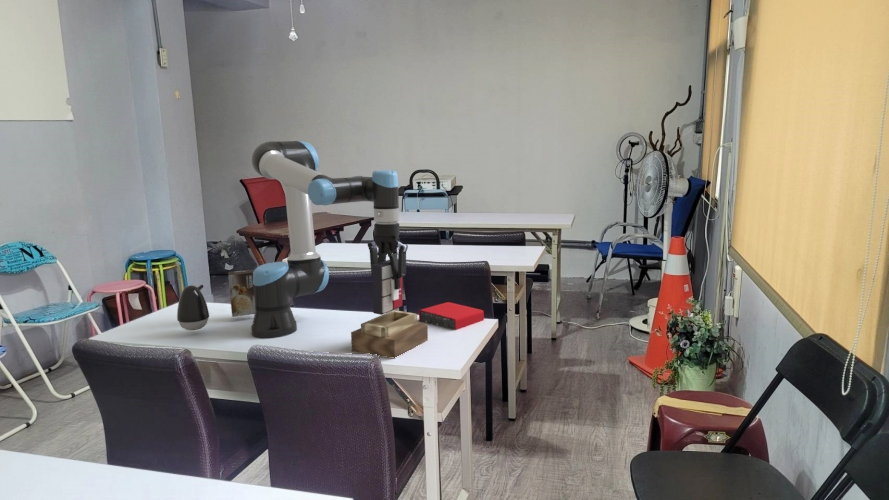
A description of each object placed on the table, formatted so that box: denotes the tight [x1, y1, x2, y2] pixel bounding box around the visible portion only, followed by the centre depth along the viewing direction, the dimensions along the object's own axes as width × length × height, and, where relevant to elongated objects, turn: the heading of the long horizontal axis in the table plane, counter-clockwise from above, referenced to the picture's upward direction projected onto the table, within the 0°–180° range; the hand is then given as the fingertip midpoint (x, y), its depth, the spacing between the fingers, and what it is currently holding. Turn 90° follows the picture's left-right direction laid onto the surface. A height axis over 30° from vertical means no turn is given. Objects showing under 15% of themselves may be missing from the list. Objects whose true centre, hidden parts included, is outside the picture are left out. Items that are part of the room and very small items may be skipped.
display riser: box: [350, 309, 429, 359], centre depth 183 cm, size 16×18×9 cm
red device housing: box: [418, 301, 485, 331], centre depth 208 cm, size 18×14×5 cm
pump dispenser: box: [176, 284, 210, 331], centre depth 205 cm, size 10×10×15 cm
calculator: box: [370, 259, 403, 316], centre depth 181 cm, size 11×4×15 cm, turn 149°
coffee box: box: [227, 269, 255, 318], centre depth 222 cm, size 9×6×16 cm
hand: (389, 298), depth 181 cm, fingers closed on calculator, 4 cm apart
